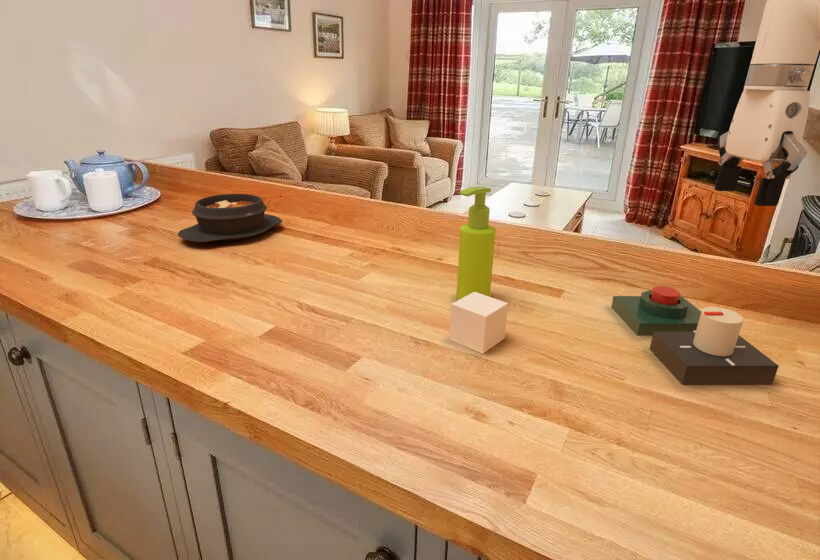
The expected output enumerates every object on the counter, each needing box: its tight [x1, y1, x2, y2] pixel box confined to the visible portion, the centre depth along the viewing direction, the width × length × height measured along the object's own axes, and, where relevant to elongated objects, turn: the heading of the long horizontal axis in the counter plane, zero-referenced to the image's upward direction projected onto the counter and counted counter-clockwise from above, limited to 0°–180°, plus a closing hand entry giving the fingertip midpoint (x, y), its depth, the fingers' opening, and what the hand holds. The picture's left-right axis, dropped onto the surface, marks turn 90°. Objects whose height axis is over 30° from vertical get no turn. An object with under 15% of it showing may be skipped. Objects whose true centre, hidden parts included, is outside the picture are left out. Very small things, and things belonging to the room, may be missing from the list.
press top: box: [651, 285, 681, 305], centre depth 79 cm, size 4×4×2 cm
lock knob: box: [693, 306, 744, 356], centre depth 66 cm, size 5×5×5 cm
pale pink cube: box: [449, 292, 509, 355], centre depth 73 cm, size 6×6×6 cm
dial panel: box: [649, 331, 779, 386], centre depth 68 cm, size 12×9×3 cm
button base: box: [610, 289, 702, 337], centre depth 80 cm, size 12×10×4 cm
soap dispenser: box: [456, 186, 497, 301], centre depth 83 cm, size 6×7×20 cm
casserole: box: [177, 193, 283, 243], centre depth 118 cm, size 25×19×8 cm
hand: (743, 197), depth 76 cm, fingers open, 9 cm apart
